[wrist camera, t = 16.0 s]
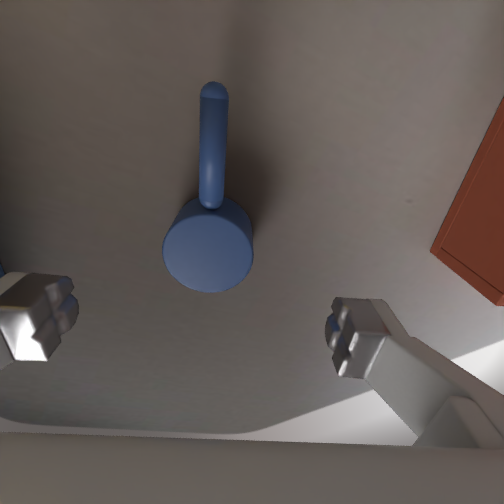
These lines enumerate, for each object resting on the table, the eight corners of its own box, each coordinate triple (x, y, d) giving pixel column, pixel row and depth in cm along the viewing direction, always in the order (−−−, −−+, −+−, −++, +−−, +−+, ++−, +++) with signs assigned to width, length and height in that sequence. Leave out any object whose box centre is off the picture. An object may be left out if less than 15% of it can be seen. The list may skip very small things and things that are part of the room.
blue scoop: (248, 267, 15) (248, 296, 13) (176, 261, 15) (163, 290, 13) (268, 90, 11) (274, 87, 9) (169, 78, 11) (150, 72, 9)
